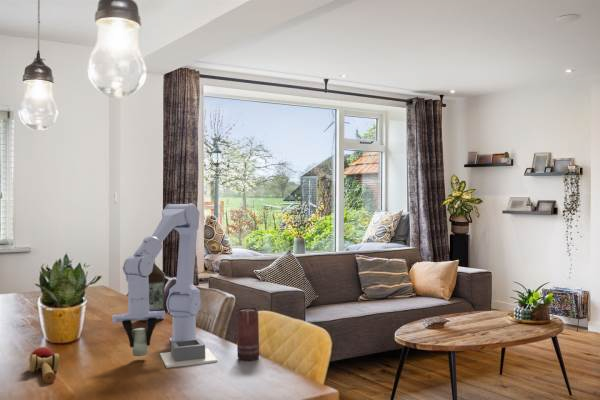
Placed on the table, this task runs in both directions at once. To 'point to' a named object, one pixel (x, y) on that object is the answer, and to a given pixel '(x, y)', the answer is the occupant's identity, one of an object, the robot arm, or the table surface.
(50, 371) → the kendama
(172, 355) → the socket
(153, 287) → the olive oil
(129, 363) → the table surface
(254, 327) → the can
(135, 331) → the peg
